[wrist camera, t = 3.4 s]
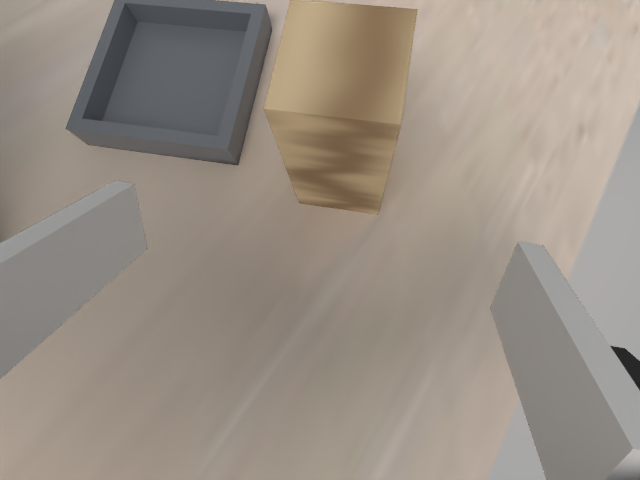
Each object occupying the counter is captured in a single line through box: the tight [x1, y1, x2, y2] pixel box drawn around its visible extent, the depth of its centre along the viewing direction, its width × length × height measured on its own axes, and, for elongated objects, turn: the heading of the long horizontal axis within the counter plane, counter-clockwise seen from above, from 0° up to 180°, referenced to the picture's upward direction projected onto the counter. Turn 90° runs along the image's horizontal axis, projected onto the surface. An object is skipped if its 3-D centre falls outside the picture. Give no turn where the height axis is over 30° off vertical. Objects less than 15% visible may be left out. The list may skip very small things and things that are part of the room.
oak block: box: [264, 0, 417, 214], centre depth 22 cm, size 6×6×12 cm
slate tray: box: [66, 0, 272, 165], centre depth 30 cm, size 13×13×2 cm
